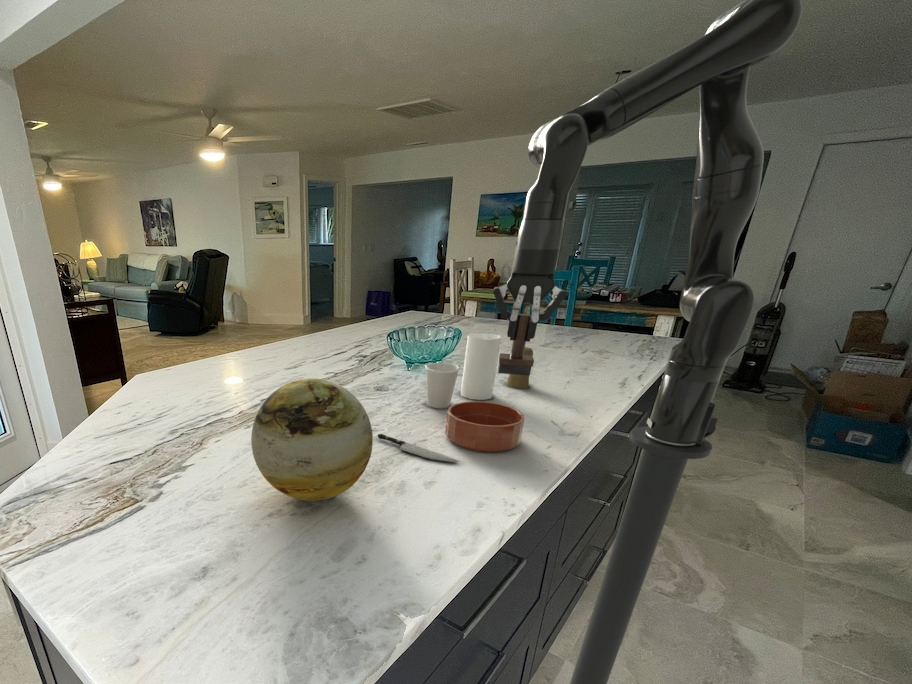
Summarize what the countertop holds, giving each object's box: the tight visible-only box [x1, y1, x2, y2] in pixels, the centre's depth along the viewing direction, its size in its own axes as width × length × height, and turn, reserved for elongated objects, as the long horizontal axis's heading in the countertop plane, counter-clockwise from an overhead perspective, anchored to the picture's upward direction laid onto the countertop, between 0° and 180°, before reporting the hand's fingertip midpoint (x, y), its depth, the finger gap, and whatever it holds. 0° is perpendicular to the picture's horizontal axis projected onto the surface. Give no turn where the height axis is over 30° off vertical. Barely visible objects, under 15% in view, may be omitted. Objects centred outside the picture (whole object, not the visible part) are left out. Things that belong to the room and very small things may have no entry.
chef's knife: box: [377, 433, 461, 463], centre depth 95 cm, size 19×1×3 cm
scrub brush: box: [497, 313, 535, 377], centre depth 95 cm, size 6×4×12 cm
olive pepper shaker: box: [506, 346, 534, 389], centre depth 133 cm, size 6×6×11 cm
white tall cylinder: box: [460, 332, 502, 401], centre depth 124 cm, size 8×8×16 cm
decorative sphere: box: [250, 378, 374, 502], centre depth 77 cm, size 20×20×20 cm
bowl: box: [444, 400, 525, 453], centre depth 99 cm, size 15×15×6 cm
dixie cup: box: [424, 362, 460, 409], centre depth 119 cm, size 8×8×10 cm
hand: (519, 339), depth 94 cm, fingers closed on scrub brush, 2 cm apart
